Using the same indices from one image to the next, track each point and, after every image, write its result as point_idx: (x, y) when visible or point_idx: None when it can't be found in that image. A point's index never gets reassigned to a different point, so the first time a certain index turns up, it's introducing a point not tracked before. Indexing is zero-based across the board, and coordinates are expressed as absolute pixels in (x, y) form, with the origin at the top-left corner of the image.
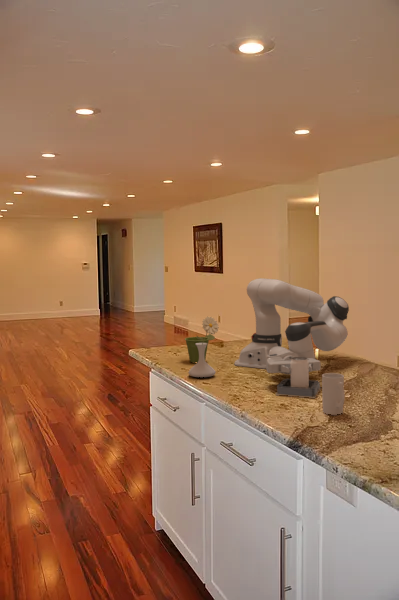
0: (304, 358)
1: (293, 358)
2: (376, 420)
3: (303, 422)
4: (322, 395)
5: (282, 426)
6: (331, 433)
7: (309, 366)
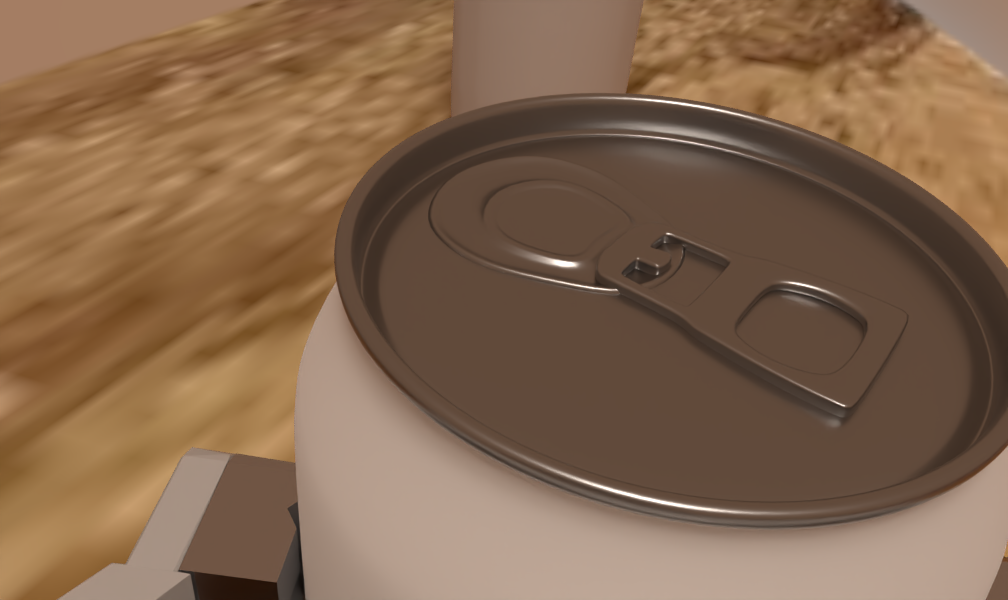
0: (401, 297)
1: (913, 499)
2: (348, 22)
3: (823, 102)
4: (639, 20)
5: (973, 100)
6: (708, 6)
7: (217, 505)
